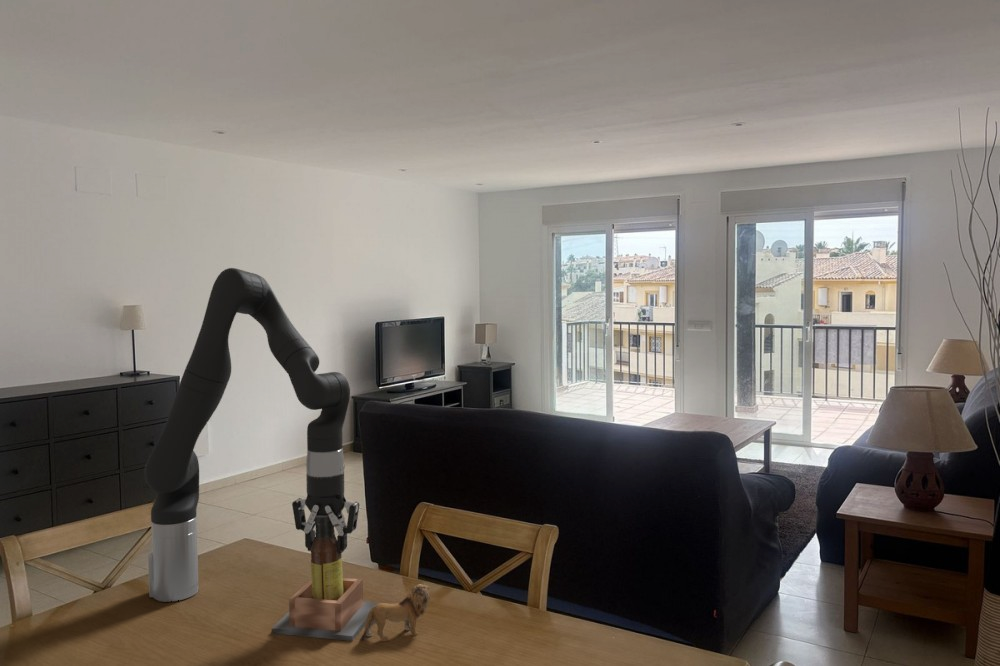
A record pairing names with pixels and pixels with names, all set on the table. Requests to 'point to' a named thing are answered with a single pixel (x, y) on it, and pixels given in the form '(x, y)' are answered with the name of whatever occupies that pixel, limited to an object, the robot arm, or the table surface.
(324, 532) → the sauce bottle
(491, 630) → the table surface
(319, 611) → the bottle holder
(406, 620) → the lion figurine
